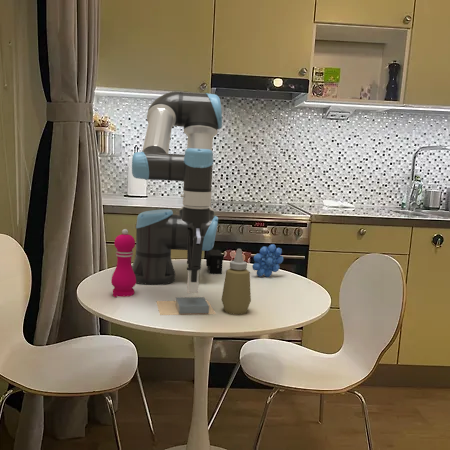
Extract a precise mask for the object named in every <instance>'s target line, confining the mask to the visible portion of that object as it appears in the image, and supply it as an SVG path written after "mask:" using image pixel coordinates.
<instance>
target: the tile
mask: <svg viewBox="0 0 450 450" xmlns="http://www.w3.org/2000/svg"><path fill="white" fill-rule="evenodd" d="M175 301H176V303H175V305H176V307H177V310H178V312H179V314H194V315H208V314H207V313H209V305H208V303H207V302H206V301H207V300H206V298H205V297H204V296H202V297H201V296H195V297H193V296H191V297H190V296H189V297H185V296H184V297H183V296H182V297H181V296H180V297H178V296H177V297H175Z"/></svg>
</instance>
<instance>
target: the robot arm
mask: <svg viewBox="0 0 450 450" xmlns="http://www.w3.org/2000/svg"><path fill="white" fill-rule="evenodd" d="M222 112H223V111H222V103H221V98H220V97H219V96H218V95H217V94H214V93H208V92H186V91H175V90H174V91H170V92H166V93H163V94H161V95H160V96H159V97H157V98H156V99H154V101H153V102H151V104H150V105H149V108H148V110H147V113H146V120H147V123H148V124H147V128H146V132H145V138H144V142H143V146H142V151H136V152H134V153H133V154H132V158H131V174H132V177H133V178H134V179H140V180H145V181H148V180H151V181H152V180H153V181H155V180H156V181H170V182H171V181H172V182H183V188H182V190H183V193H181V194H180V197H181V198H182V206H181V207H180V208H179V213H178V214H174V212H173V210H172V209H165V208H163V209H152V210H146V211H142V212H140V213H139V214H138V215H137V217H136V226H135V229H136V232H135V233H136V235H135V236H136V237H135V255H134V256H135V257H134V259H133V262H132V264H131V265H132V269H133V271H134V274H135V277H136V284H140V285H146V286H147V285H148V286H160V285H161V286H162V285H167V284H168V285H169V284H171V283H174V282H175V280H176V270H175V267H174V265H173V260H172V250H176V251H177V250H178V251H186V252H187V255H186V257H187V258H186V259H187V261H186V264H187V267H186V271H187V286H186V288H187V289H186V293H187V294H198V293H199V277H200V276H199V272H200V270H201V268H202V267H201V266H202V256H203V255H202V254H203V252H205V251H206V252H208V251H209V250H213V248H214V245H215V240H216V236H217V235H216V234H217V228H218V224H219V217H218V216H217V215H215V210H214V209H213V208H212V207H211V205H212V192H213V191H212V183H213V167H214V153H213V146H214V145H213V144H214V143H213V142H214V141H213V139H214V138H215V136H216V135H218V130H220V129H222V127H223V118H222V117H223V116H222V115H223V113H222ZM174 127H183V133H184V134H185V135H186V136H187V140H186V142H187V143H186V149H185V151H184V154H179V153H169V152H170V151H169V150H170V145H171V144H170V143H171V136H172V135H171V134H172V128H174Z"/></svg>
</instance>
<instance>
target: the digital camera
mask: <svg viewBox="0 0 450 450" xmlns="http://www.w3.org/2000/svg"><path fill="white" fill-rule="evenodd" d="M223 258H224V255H223V254H222V252H221V250H220V249H211V250H209V251H207V254H206V256H205V265H206V268H207V269H208V272H209V274H210V275H222V274H223V262H224V261H223V260H224V259H223Z"/></svg>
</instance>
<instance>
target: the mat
mask: <svg viewBox="0 0 450 450" xmlns="http://www.w3.org/2000/svg"><path fill="white" fill-rule="evenodd" d="M155 302H156V306H157V309H158V312H159V315H160V316H180V315H181V316H182V315H183V316H186V315H187V316H188V315H189V316H190V315H195V314H179V312H178V310H177V307H176V305H175V303H176V300H165V301H164V300H157V301H155ZM206 302H207V303H208V305H209V313H207V314H206V315H216V311H215V310H214V308H213V307H212V305H211V303H210V301H209V300H206Z"/></svg>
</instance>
